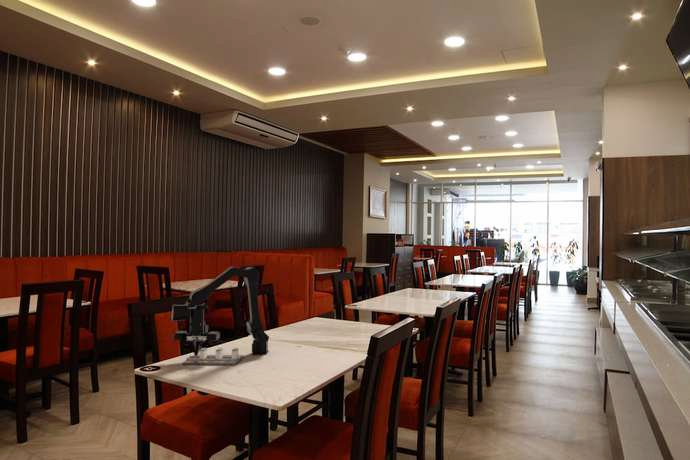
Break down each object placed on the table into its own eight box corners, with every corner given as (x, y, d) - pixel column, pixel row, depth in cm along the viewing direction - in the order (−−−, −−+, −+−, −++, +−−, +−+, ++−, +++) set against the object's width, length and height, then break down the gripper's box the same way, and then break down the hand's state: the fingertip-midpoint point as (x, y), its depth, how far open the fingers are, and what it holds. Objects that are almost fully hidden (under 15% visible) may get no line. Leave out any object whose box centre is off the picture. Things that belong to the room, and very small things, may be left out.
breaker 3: (238, 357, 199) (238, 348, 199) (236, 359, 196) (236, 350, 196) (233, 357, 199) (233, 348, 199) (231, 359, 196) (231, 350, 196)
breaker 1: (206, 357, 200) (206, 348, 200) (204, 359, 197) (204, 349, 197) (202, 357, 200) (202, 348, 200) (199, 359, 197) (199, 349, 197)
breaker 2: (222, 357, 200) (222, 348, 200) (220, 359, 196) (220, 350, 196) (217, 357, 200) (217, 348, 200) (215, 359, 196) (215, 350, 197)
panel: (243, 357, 204) (243, 353, 204) (235, 365, 191) (235, 361, 191) (193, 356, 205) (193, 352, 205) (182, 364, 192) (182, 360, 192)
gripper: (223, 316, 206) (223, 351, 206) (183, 315, 207) (182, 350, 207) (216, 321, 195) (215, 358, 195) (172, 320, 196) (172, 357, 196)
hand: (196, 355), depth 198 cm, fingers closed
